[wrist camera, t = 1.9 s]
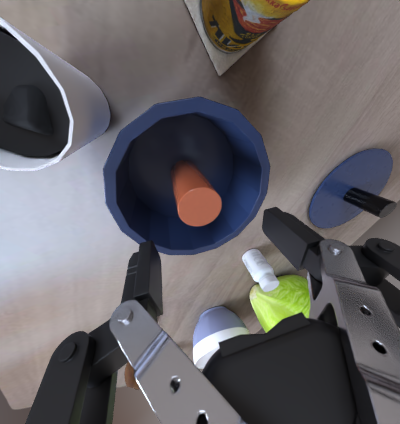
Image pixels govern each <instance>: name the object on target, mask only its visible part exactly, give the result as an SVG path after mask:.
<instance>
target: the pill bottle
mask: <svg viewBox="0 0 400 424" xmlns="http://www.w3.org/2000/svg"><path fill="white" fill-rule="evenodd" d="M242 260H243V262H244V264H245V266H246V267H247V269H248V271H249V272H250V274H251V276H252V277H253V279H254V280H255V281H256V282H259V285H260V287H261V288H262V290H263V291H264V292H269V291H272V290H274V289H275V288H277V287H278V285H279V281H278V279H277V278H276V276H275V275H273V273H274V271H273V268H272V267H271V266H270V264H269V263H268V262H267V260H266V259H265V258H264V256H263V255H262V254H261V252H260V251H259V250H258V249H251V250H248V251H247V252H246V253H245V254H244V255H243V257H242Z"/></svg>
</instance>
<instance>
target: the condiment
mask: <svg viewBox="0 0 400 424" xmlns="http://www.w3.org/2000/svg"><path fill="white" fill-rule="evenodd" d="M184 1H185V3H186V5H187V7H188V9H189V12H190V14H191V16H192V18H193V21H194V23H195V25H196V28H197V30H198V32H199V34H200V37H201V39H202V41H203V43H204V45H205V47H206V49H207V52H208V54H209V56H210V58H211V60H212V62H213V65H214V67H215V69H216V71H217V73H218V75H219V77H220V76H221V75H222V74H223V73H224V72H225V71H226V70H227V69H228V68H229V67H231V66H232V65H233V64H234V63H235V62H236V61H237V60H238V59H239V58H240V57H241V56H242V55H244V54H245V53H246V52H247V51H248V50H249V49H250V48H251V47H252V46H253V45H254V44H255V43H257V42H258V41H259V40H260V39H261V38H262V37H263V36H264V35H265V34H266V33H268V32H269V31H270V30H271V29H272V28H274V27H275V26H276V25H277V24H279V23H280V22H281V21H283V20H284V19H285V18H287V17H288V16H290V15H291V14H292V13H293V12H295V11H297V10H298V9H299V8H300V7H302V6H303V5H304V4H306V3H307V2H308V1H310V0H184Z"/></svg>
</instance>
